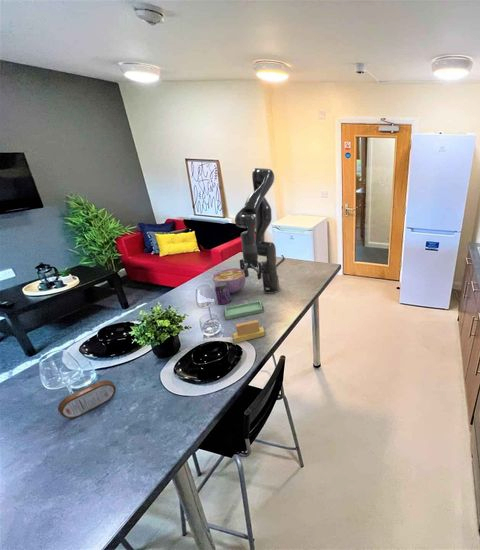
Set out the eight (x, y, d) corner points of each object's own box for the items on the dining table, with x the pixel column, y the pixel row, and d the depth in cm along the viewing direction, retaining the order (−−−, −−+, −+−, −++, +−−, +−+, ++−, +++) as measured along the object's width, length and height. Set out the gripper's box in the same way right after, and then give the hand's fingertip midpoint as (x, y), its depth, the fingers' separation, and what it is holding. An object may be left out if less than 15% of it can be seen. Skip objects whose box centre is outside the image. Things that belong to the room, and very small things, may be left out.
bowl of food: (207, 293, 182) (204, 277, 177) (232, 281, 199) (229, 265, 194) (232, 300, 175) (228, 283, 171) (255, 286, 192) (252, 271, 187)
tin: (117, 391, 110) (109, 375, 107) (120, 395, 108) (112, 378, 105) (63, 419, 99) (52, 401, 95) (66, 424, 97) (55, 406, 94)
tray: (225, 310, 165) (224, 307, 164) (260, 303, 173) (260, 300, 172) (226, 319, 156) (225, 316, 156) (263, 311, 164) (262, 308, 163)
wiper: (233, 337, 142) (231, 323, 139) (263, 330, 148) (261, 317, 145) (234, 343, 138) (231, 329, 135) (264, 335, 144) (262, 322, 141)
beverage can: (225, 305, 170) (222, 287, 165) (215, 304, 171) (211, 286, 166) (233, 299, 176) (229, 282, 171) (222, 298, 177) (219, 280, 172)
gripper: (265, 250, 159) (268, 277, 165) (243, 247, 163) (247, 273, 169) (256, 254, 152) (259, 282, 158) (234, 251, 156) (238, 278, 162)
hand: (253, 277), depth 164 cm, fingers open, 8 cm apart
